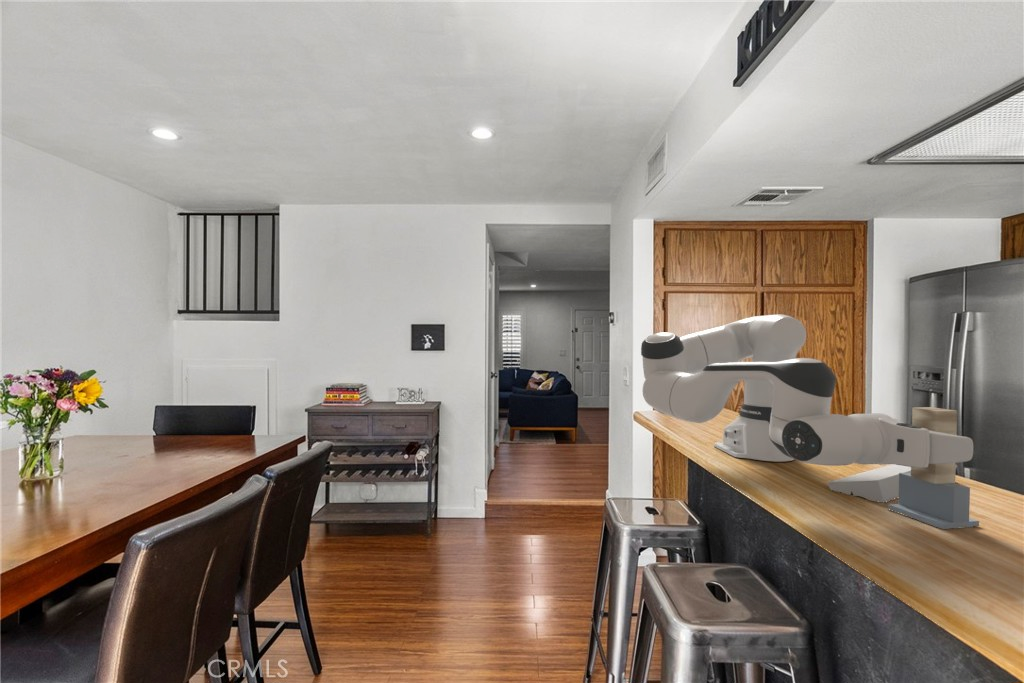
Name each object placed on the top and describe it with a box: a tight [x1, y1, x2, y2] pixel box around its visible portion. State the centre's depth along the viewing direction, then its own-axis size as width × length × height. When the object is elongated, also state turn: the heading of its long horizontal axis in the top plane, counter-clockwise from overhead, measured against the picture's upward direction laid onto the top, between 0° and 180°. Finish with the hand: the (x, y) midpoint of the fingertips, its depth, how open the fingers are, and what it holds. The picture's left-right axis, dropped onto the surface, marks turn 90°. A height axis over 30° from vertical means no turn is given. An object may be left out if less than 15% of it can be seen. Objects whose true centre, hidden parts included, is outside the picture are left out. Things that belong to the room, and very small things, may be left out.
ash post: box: [911, 406, 958, 484], centre depth 94 cm, size 4×4×13 cm
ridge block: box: [888, 472, 980, 530], centre depth 94 cm, size 10×8×7 cm
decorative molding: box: [826, 464, 911, 504], centre depth 116 cm, size 34×5×10 cm
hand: (936, 436), depth 94 cm, fingers open, 8 cm apart
